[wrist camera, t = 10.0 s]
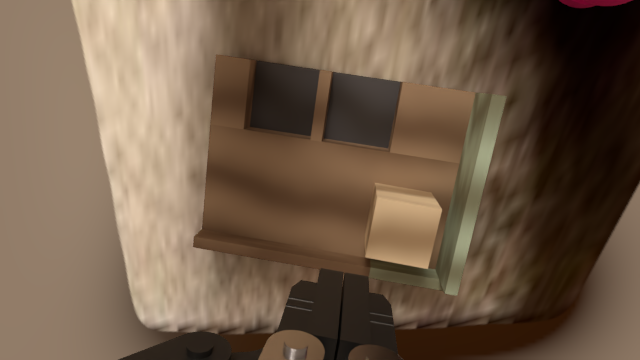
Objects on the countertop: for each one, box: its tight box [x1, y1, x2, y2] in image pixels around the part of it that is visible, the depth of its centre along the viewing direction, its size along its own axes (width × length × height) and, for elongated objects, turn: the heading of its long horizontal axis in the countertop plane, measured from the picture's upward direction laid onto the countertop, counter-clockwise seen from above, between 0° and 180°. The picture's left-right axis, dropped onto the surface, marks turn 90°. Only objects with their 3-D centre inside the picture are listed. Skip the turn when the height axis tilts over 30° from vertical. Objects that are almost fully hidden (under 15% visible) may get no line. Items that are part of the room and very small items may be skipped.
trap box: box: [193, 55, 506, 296], centre depth 36 cm, size 17×23×7 cm
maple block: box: [365, 183, 442, 269], centre depth 35 cm, size 5×5×5 cm
